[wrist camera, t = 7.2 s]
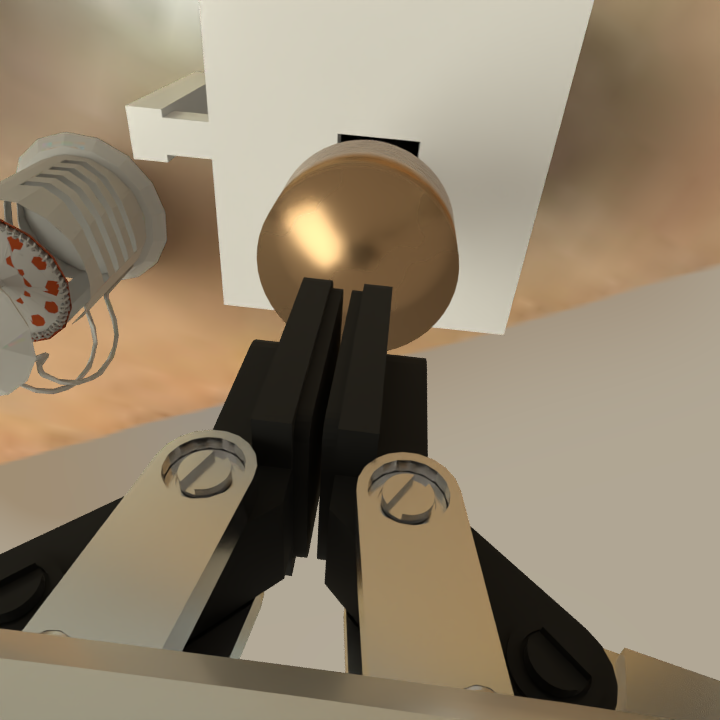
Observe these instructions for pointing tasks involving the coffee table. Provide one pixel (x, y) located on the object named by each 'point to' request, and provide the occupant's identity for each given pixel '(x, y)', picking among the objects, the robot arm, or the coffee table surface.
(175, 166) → the coffee table surface
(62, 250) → the french press
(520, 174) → the socket block
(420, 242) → the plunger
